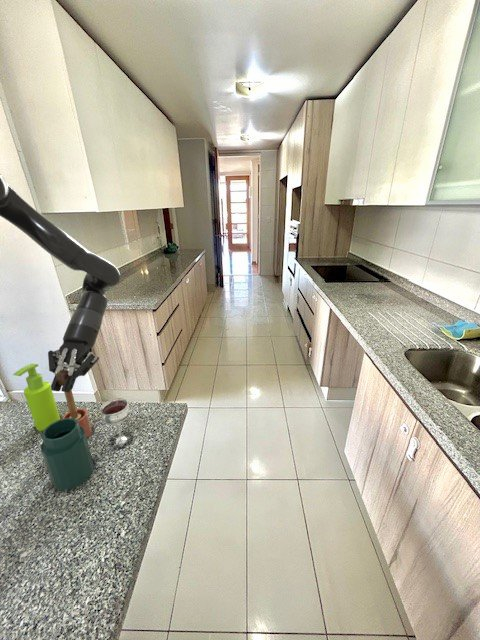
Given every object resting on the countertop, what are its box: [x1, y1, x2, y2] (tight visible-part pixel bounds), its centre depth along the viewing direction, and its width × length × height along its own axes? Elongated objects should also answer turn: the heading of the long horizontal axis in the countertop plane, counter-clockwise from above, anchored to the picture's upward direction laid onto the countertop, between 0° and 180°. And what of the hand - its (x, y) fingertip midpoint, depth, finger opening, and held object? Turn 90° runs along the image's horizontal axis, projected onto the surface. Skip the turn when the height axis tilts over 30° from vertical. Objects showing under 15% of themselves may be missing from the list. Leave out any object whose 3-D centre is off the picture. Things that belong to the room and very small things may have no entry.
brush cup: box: [61, 408, 93, 439], centre depth 71 cm, size 6×6×7 cm
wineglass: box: [99, 397, 131, 445], centre depth 69 cm, size 7×7×12 cm
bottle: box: [40, 418, 94, 491], centre depth 59 cm, size 8×8×14 cm
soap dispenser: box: [12, 362, 61, 432], centre depth 72 cm, size 6×7×20 cm
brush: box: [56, 369, 81, 421], centre depth 69 cm, size 3×3×20 cm
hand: (60, 391), depth 65 cm, fingers closed on brush, 2 cm apart
